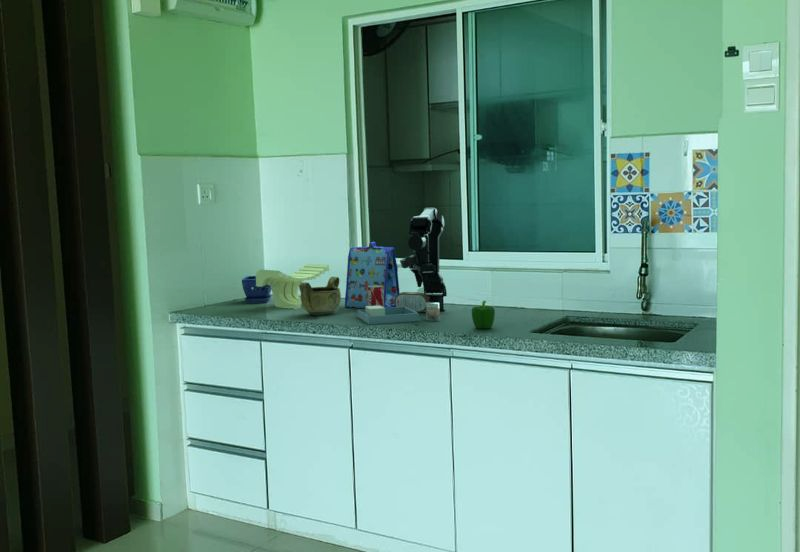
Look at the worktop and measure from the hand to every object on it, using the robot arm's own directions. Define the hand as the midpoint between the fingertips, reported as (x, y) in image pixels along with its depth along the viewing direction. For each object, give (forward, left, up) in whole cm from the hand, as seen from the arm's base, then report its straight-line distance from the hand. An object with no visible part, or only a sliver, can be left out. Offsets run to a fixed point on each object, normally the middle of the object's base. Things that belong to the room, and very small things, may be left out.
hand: (422, 288), depth 324 cm
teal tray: (+13, -6, -13) cm, 19 cm away
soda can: (+14, -22, -13) cm, 29 cm away
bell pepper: (-15, +27, -13) cm, 34 cm away
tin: (-2, -23, -13) cm, 26 cm away
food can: (-3, +3, -13) cm, 13 cm away
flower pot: (+56, -86, -13) cm, 103 cm away
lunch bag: (+10, -45, -13) cm, 48 cm away
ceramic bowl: (+35, -32, -13) cm, 49 cm away
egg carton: (+18, -6, -12) cm, 22 cm away
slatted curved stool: (+42, -64, -13) cm, 77 cm away
